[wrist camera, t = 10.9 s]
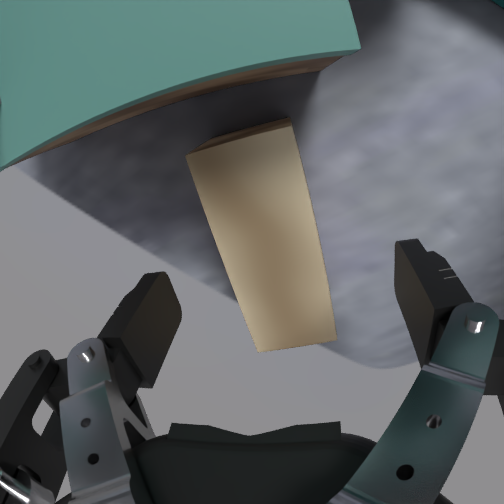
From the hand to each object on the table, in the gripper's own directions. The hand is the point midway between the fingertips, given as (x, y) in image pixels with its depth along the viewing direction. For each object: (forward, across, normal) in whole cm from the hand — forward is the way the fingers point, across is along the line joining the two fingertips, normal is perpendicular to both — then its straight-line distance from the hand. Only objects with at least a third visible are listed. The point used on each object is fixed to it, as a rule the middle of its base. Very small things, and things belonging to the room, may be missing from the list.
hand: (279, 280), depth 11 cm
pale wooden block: (+7, +1, 0) cm, 7 cm away
